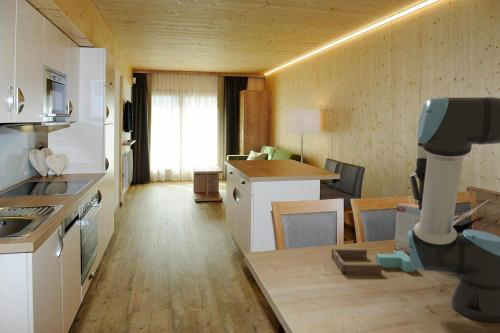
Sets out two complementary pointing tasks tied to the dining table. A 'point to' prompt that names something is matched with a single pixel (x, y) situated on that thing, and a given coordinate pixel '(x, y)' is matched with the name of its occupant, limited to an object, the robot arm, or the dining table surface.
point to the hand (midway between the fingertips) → (423, 218)
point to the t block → (395, 261)
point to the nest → (354, 268)
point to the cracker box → (405, 224)
